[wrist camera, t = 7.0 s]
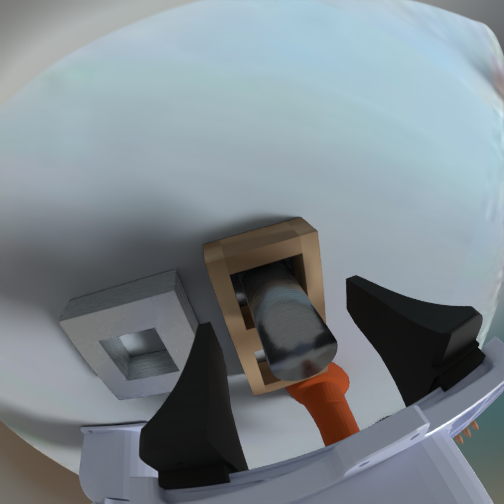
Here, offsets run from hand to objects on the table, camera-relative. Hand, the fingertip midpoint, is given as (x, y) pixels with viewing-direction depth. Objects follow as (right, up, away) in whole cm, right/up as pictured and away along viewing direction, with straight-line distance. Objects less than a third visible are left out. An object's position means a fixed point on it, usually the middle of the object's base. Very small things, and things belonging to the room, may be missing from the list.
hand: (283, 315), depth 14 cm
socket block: (-9, -2, +4) cm, 10 cm away
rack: (0, -1, +5) cm, 5 cm away
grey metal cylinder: (-1, +2, +4) cm, 4 cm away
